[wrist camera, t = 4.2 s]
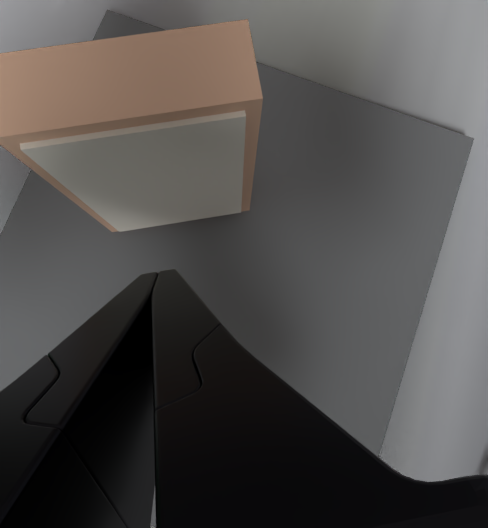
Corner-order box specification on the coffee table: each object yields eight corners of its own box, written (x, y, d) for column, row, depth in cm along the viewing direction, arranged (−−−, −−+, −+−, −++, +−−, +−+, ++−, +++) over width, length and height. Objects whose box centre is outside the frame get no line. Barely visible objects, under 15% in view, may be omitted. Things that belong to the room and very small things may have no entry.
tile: (249, 213, 18) (264, 104, 9) (112, 235, 18) (-8, 144, 9) (241, 167, 19) (247, 19, 10) (106, 188, 18) (-15, 55, 9)
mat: (466, 144, 20) (473, 138, 19) (332, 588, 17) (336, 598, 16) (111, 19, 20) (107, 9, 20) (-81, 425, 17) (-92, 429, 17)
